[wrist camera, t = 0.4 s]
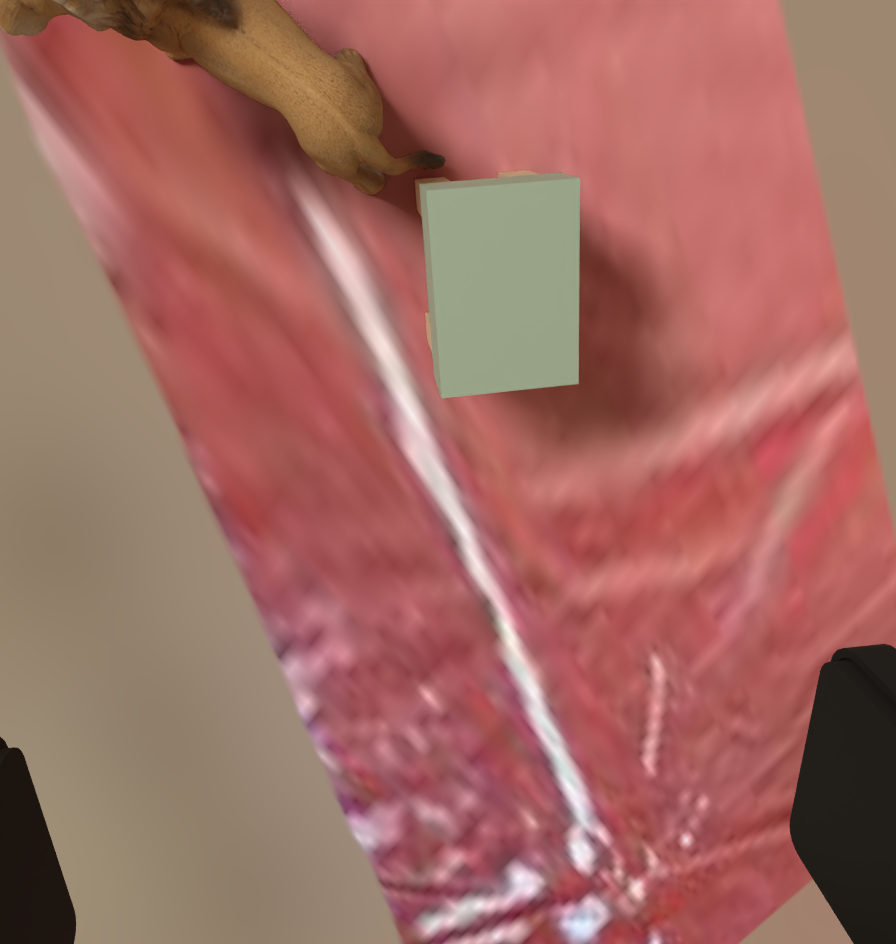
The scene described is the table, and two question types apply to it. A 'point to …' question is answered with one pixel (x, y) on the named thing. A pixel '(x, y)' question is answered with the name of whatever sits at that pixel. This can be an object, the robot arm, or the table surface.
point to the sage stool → (502, 281)
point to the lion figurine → (255, 71)
